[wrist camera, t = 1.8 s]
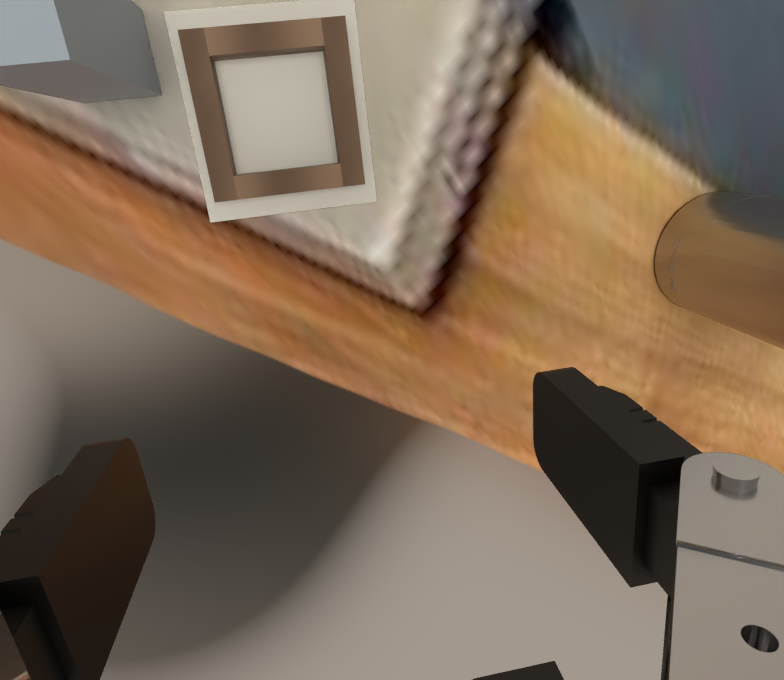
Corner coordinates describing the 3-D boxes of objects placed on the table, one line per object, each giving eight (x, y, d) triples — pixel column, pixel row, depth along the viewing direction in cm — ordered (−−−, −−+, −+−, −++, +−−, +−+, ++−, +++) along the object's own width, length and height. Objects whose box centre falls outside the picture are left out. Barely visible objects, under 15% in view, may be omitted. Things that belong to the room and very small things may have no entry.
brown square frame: (342, 23, 32) (345, 15, 31) (361, 182, 36) (365, 184, 34) (184, 36, 31) (177, 29, 30) (219, 199, 35) (214, 202, 33)
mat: (353, -3, 32) (353, -4, 32) (376, 200, 37) (376, 201, 36) (165, 13, 31) (163, 11, 31) (211, 221, 35) (210, 222, 35)
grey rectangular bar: (141, 10, 31) (27, -91, 18) (161, 95, 33) (70, 59, 20) (59, 16, 30) (-120, -82, 17) (84, 103, 32) (-64, 71, 19)
